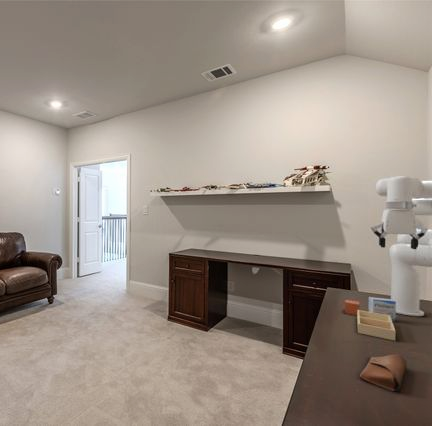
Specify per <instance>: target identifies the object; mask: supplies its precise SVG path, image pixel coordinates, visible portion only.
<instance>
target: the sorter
mask: <svg viewBox="0 0 432 426" xmlns="http://www.w3.org/2000/svg"><path fill="white" fill-rule="evenodd" d="M356 319H357V320H356V322H357V333H358V334H361V335H367V336H371V337H375V338H381V339H384V340H385V339H386V340H390V341H394V342H395V341H396V329H395V328H396V327H395V326H394V323H393V321H392V320H391V317H390V315H384V314H378V313H373V312H369V311H365V310H360V309H359V310H357V315H356Z"/></svg>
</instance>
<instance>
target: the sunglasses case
mask: <svg viewBox="0 0 432 426" xmlns="http://www.w3.org/2000/svg"><path fill="white" fill-rule="evenodd" d="M406 369H407V360H406V359H405V357H403V356H402V355H401V354H389V355H384V356H371V357H369V360H368V362H367V364H366V365H365V367H364V368H363V370H361V373H360V374H359V378H361V379H362V380H364V381H366V382H369V383H370V384H373V385H375V386H378V387H380V388H384V389H386V390H388V391H391V392H397V391H399V390H400V388H401V386H402V383H403V378H404V374H405V372H406Z"/></svg>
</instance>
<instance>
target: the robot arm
mask: <svg viewBox="0 0 432 426" xmlns="http://www.w3.org/2000/svg"><path fill="white" fill-rule="evenodd" d="M375 191H376V193H377V195H378V196H380V197H386V209H384V210H383V211H382V215H381V221H380V223H379V224H376V225H373V226H371V227H370V229H371V230H372V232H373V234H374V235H375V236H376V237H378V245H379V247H380V248H383V249H384V248H386V238H385V237H386V236H387V235H389V234H391V235H396V242H397V243H394V244H392V245H391V246H390V247H389V249H388V250H389V252H388V253H389V258H390V263H391V264H390V266H391V267H390V268H391V273H390V274H391V275H390V277H391V278H390V299H392V300H394V301H395V302H396V314H399V315H403V316H409V317H423V316H425V312H424V311H423V310H421V309H420V297H421V275H420V273H419V272H418V271H417V270H416V268H415V267H414V266H416V267H425V268H432V228H426V227H425V226H424V223H423V222H422V221H421V220H420V219H419V218H417V217H416V216H432V180H420V178H417V177H414V176H413V177H412V176H408V175H407V176H405V175H404V176H401V175H400V176H391V177H389V178H380V179H379V180H377V182H376V184H375ZM378 229H380V232H379V230H378Z"/></svg>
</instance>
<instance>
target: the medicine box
mask: <svg viewBox="0 0 432 426" xmlns="http://www.w3.org/2000/svg"><path fill="white" fill-rule="evenodd" d="M368 312H373V313H378V314H384V315H390V317H391V320H392V322H394V323H395V322H396V319H397V318H396V315H397V313H396V302H395V301H394V300H392V299H391V298H384V297H383V298H382V297H373V296H369V297H368Z"/></svg>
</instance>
